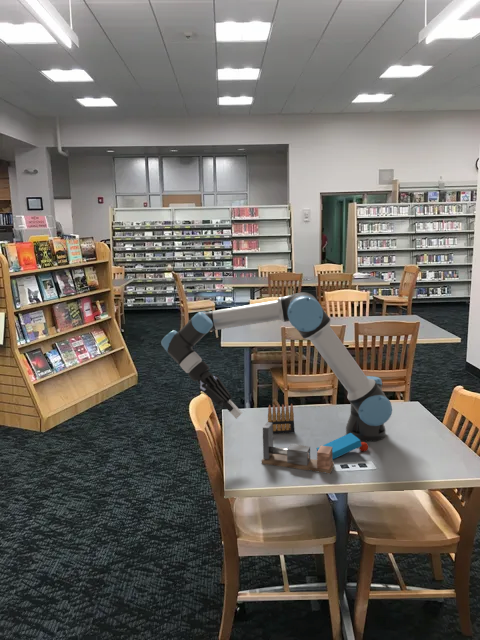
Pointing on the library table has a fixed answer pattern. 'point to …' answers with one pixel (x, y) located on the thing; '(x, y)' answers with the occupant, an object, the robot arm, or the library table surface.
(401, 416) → the library table surface
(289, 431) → the ammunition clip
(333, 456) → the blue block
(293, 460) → the wooden bar with block
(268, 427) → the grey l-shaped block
